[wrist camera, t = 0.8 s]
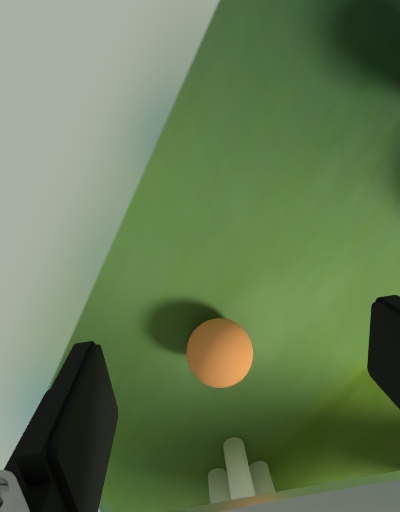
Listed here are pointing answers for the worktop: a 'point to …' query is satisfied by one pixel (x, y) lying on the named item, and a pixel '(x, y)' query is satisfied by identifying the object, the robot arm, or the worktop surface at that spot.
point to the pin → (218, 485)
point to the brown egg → (219, 353)
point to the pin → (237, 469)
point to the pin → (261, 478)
